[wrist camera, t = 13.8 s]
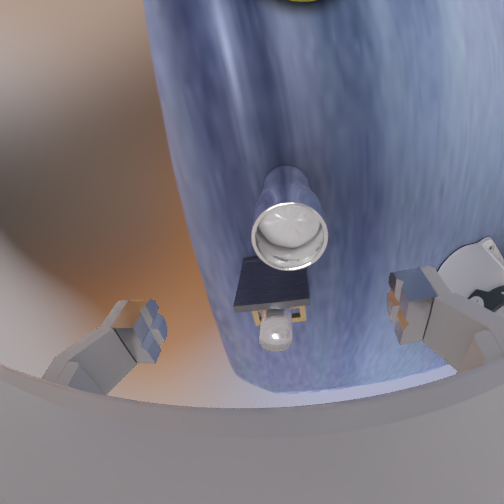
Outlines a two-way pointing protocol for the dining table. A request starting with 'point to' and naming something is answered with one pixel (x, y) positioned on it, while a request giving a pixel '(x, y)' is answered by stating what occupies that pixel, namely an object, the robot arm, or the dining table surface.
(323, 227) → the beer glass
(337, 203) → the dining table surface
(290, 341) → the metal cylinder
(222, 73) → the dining table surface
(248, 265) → the stand
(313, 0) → the bowl
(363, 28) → the dining table surface
